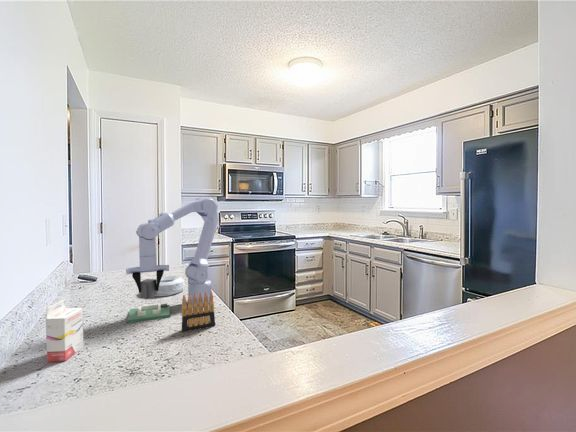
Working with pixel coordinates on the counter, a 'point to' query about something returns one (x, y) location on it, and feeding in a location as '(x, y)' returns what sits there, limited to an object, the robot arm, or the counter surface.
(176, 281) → the cable
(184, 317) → the ammunition clip
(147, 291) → the plug
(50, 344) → the ink cartridge box
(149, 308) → the board
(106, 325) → the counter surface
